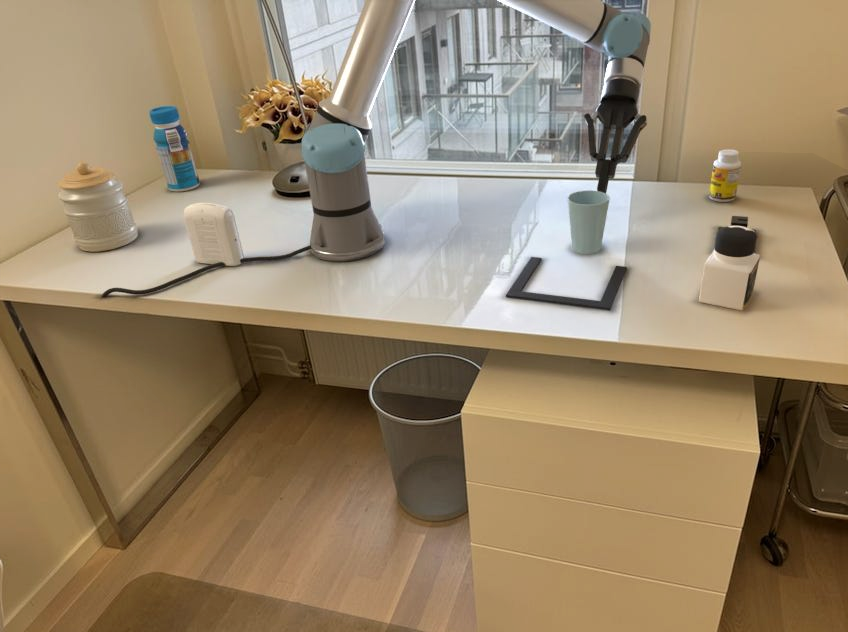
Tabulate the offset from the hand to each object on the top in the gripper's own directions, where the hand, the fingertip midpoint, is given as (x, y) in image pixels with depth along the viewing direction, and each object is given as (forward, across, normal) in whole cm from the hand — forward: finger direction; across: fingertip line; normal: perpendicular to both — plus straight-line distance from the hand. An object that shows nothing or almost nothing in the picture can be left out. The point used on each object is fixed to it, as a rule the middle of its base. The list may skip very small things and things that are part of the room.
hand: (601, 192), depth 142 cm
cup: (+14, 0, +4) cm, 15 cm away
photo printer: (+30, +70, +20) cm, 79 cm away
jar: (+28, +103, +18) cm, 108 cm away
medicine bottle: (+24, -26, +14) cm, 38 cm away
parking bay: (+24, 0, +14) cm, 27 cm away
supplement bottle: (-9, -23, -19) cm, 31 cm away
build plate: (+7, -27, -3) cm, 28 cm away
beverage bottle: (+4, +110, -6) cm, 110 cm away
